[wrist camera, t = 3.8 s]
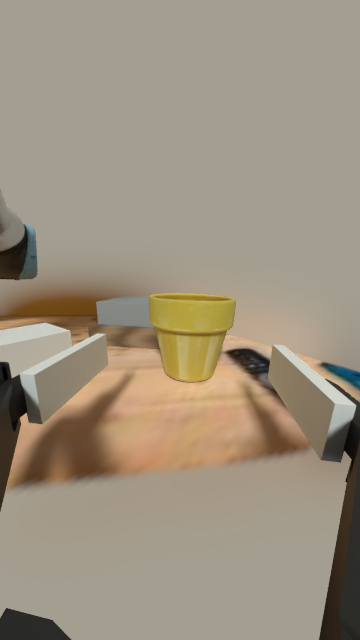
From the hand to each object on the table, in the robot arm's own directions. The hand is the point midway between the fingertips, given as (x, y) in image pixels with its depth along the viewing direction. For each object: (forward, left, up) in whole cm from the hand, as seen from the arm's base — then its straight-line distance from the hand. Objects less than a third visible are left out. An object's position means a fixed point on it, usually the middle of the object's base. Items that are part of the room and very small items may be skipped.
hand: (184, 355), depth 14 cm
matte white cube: (-17, +3, -6) cm, 18 cm away
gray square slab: (-11, +22, -3) cm, 25 cm away
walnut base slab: (-11, +22, -7) cm, 26 cm away
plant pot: (0, +9, -6) cm, 11 cm away
